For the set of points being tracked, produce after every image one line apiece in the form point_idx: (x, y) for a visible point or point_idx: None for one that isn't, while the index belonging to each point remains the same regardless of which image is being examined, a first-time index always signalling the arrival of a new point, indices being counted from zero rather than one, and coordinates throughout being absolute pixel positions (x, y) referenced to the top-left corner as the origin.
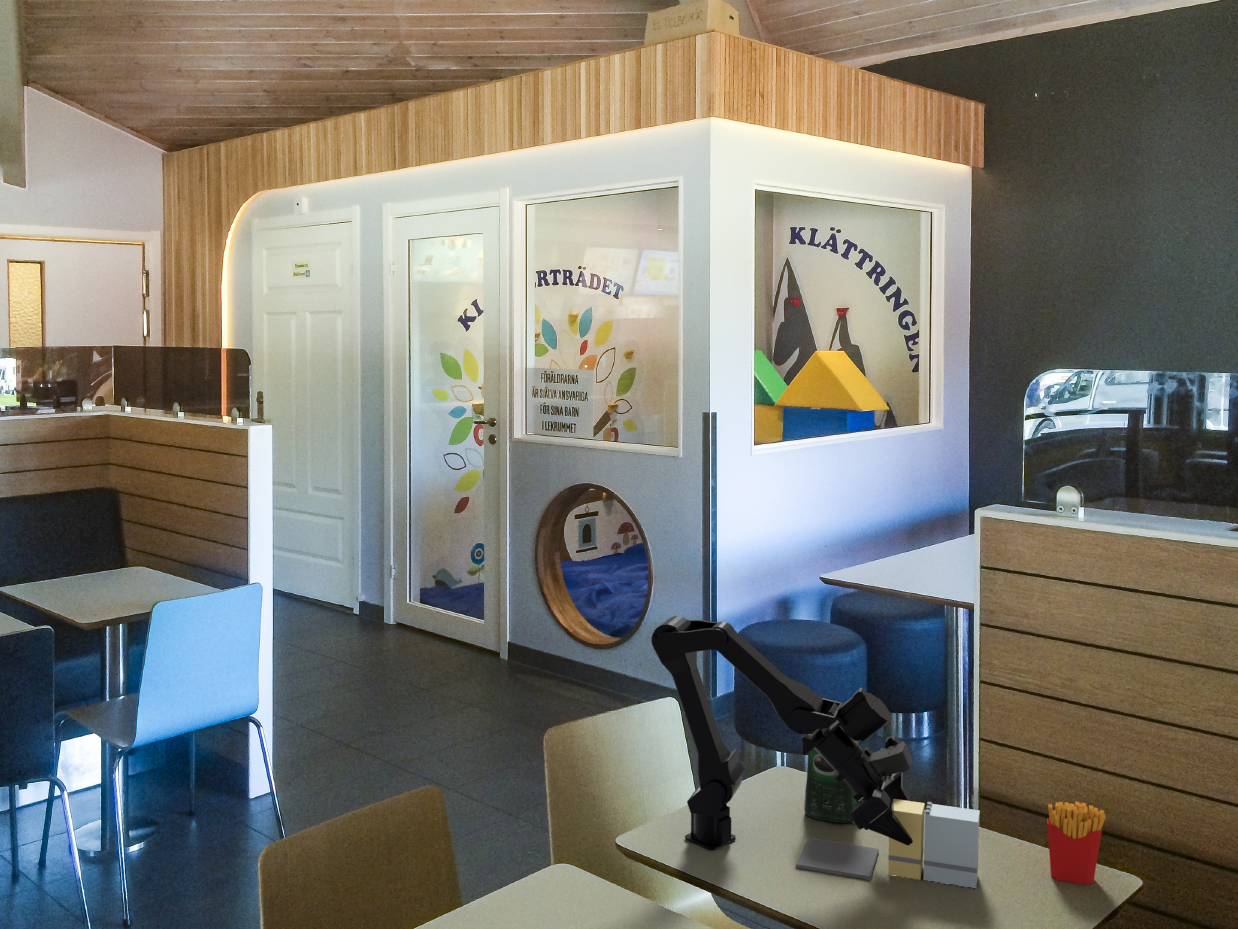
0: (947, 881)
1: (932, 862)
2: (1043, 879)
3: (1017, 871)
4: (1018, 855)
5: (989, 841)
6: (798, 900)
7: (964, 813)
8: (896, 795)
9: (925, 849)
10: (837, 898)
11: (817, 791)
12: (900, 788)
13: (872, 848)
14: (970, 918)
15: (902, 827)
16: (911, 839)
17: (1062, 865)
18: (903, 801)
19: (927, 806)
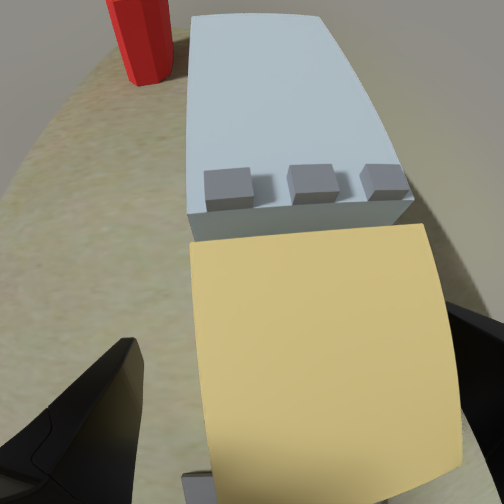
0: None
1: None
2: (174, 89)
3: (153, 124)
4: (81, 137)
5: (28, 197)
6: (495, 501)
7: (257, 39)
8: (86, 502)
9: None
10: (475, 456)
11: None
12: (42, 492)
13: (188, 493)
14: (410, 181)
15: (502, 328)
16: None
17: (167, 47)
18: (238, 442)
19: (311, 186)
